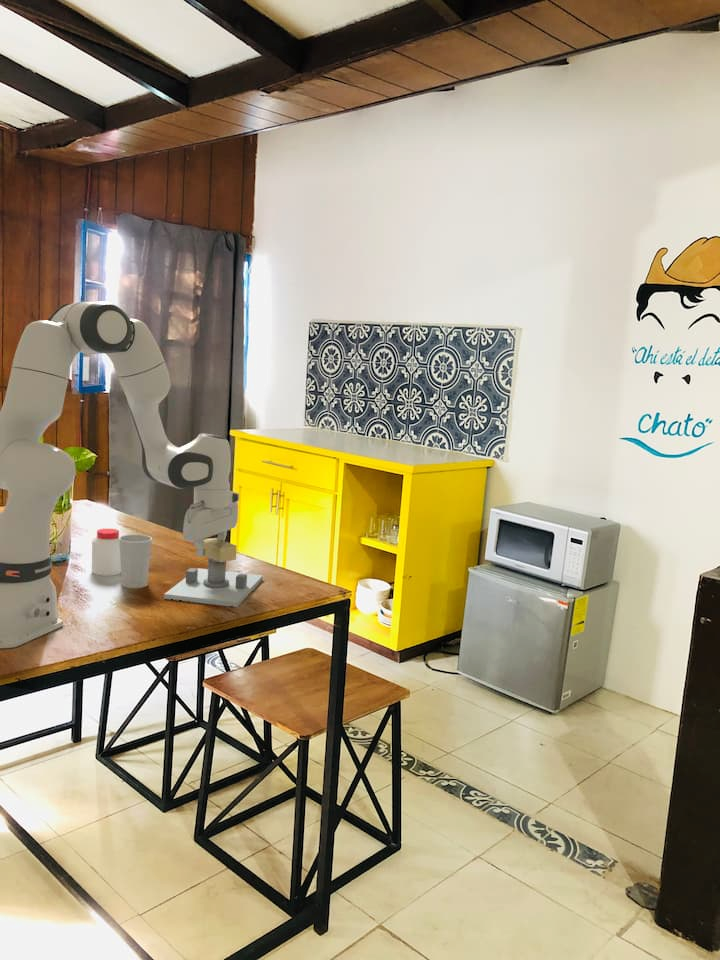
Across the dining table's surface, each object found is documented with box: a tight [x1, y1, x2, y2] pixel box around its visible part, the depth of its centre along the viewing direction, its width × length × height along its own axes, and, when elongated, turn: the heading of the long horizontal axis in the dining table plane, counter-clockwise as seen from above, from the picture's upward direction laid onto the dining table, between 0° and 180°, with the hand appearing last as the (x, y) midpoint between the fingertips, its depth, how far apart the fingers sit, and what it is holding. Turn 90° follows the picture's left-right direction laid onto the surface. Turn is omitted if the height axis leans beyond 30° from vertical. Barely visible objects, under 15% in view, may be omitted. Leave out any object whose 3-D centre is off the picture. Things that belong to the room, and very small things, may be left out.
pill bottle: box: [91, 528, 121, 577], centre depth 207 cm, size 8×8×11 cm
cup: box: [119, 533, 153, 589], centre depth 197 cm, size 8×8×12 cm
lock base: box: [163, 560, 264, 608], centre depth 199 cm, size 24×18×7 cm
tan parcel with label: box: [202, 537, 238, 563], centre depth 198 cm, size 9×5×5 cm, turn 45°
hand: (210, 551), depth 199 cm, fingers open, 7 cm apart
